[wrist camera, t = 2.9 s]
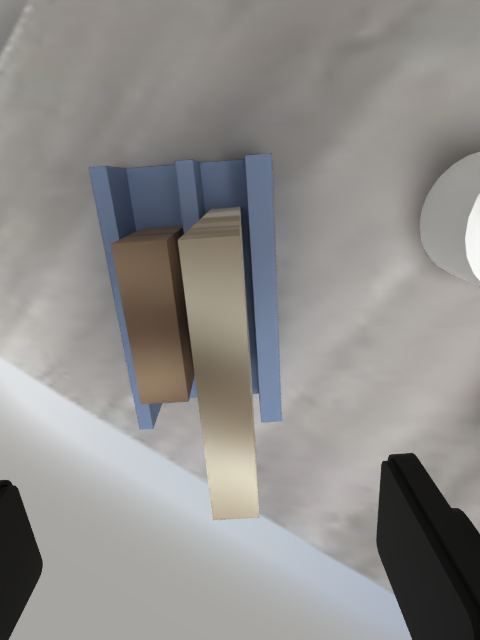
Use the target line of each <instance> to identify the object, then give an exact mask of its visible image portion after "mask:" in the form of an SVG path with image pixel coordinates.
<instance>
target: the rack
mask: <svg viewBox="0 0 480 640" xmlns="http://www.w3.org/2000/svg"><path fill="white" fill-rule="evenodd" d="M175 163H176V165H163V166H151V167H138V168H118V167H109V166H101V167H89V171H90V177H91V182H92V187H93V192H94V197H95V202H96V207H97V213H98V218H99V223H100V228H101V233H102V238H103V243H104V249H105V254H106V259H107V264H108V269H109V274H110V279H111V284H112V290H113V295H114V300H115V305H116V310H117V315H118V320H119V326H120V331H121V336H122V341H123V346H124V351H125V356H126V362H127V367H128V372H129V377H130V382H131V387H132V392H133V398H134V403H135V408H136V413H137V418H138V423H139V428H140V429H153V428H154V425H155V422H156V419H157V416H158V414H159V411H160V408H161V405H162V403H155V404H141V402H140V397H139V391H138V386H137V381H136V375H135V370H134V365H133V359H132V354H131V349H130V343H129V338H128V333H127V327H126V322H125V317H124V311H123V306H122V301H121V295H120V290H119V285H118V279H117V274H116V269H115V264H114V258H113V253H112V248H111V243H113V242H116V241H118V240H120V239H122V238H124V237H126V236H128V235H130V234H132V233H134V232H136V231H139V230H141V229H143V228H156V227H170V226H183V230H184V234H185V233H186V232H187V231H188V230H189V229H190V228H191V227H192V226H193V225H194V224H196V223H197V222H198V221H199V220H200V219H201V218H202V217H203V216H204V215H205V214H206V213H207V212H208V211H210V210H211V209H214V208H227V207H240V211H241V226H242V241H243V255H244V270H245V285H246V299H247V314H248V329H249V344H250V358H251V376H252V394H259V400H260V412H261V422H276V421H282V412H281V386H280V360H279V334H278V308H277V282H276V256H275V230H274V204H273V178H272V153H269V154H256V155H245V159H241V160H228V161H215V162H202V163H199V162H197V161H195V160H193V159H191V160H178V161H175ZM193 397H198V396H197V388H196V381H195V376H194V381H193V385H192V389H191V393H190V398H193Z"/></svg>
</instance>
